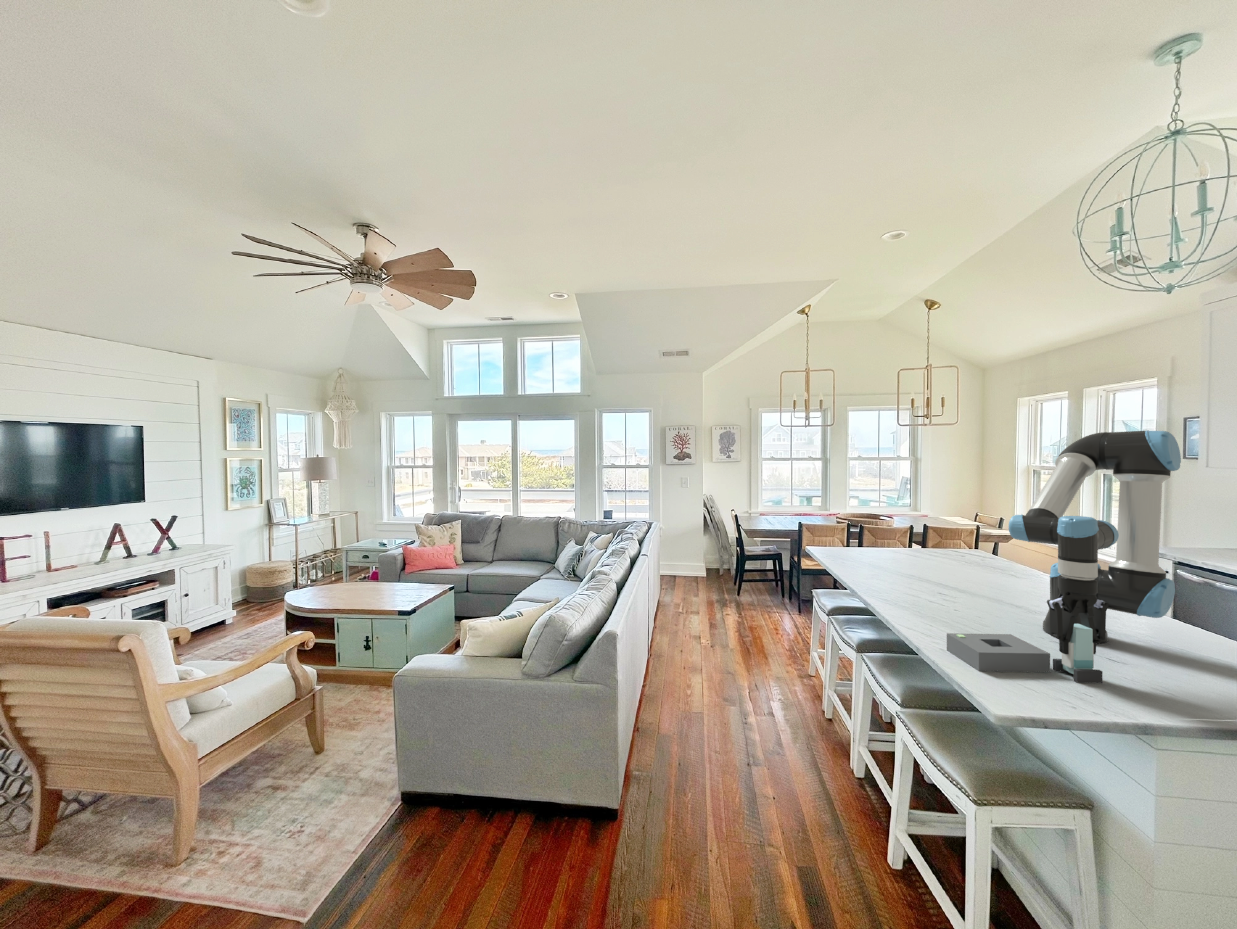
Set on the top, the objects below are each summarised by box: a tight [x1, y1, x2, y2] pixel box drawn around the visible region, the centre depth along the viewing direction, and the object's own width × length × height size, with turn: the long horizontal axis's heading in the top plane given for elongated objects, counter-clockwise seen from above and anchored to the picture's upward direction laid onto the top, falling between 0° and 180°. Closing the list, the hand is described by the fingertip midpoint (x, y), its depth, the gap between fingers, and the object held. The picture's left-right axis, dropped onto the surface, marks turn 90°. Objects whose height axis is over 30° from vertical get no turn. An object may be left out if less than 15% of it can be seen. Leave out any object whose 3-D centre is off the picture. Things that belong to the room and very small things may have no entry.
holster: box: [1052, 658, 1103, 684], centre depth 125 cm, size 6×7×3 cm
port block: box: [946, 632, 1051, 673], centre depth 135 cm, size 18×14×5 cm
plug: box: [1063, 624, 1094, 675], centre depth 126 cm, size 4×4×12 cm
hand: (1077, 665), depth 126 cm, fingers closed on plug, 4 cm apart
